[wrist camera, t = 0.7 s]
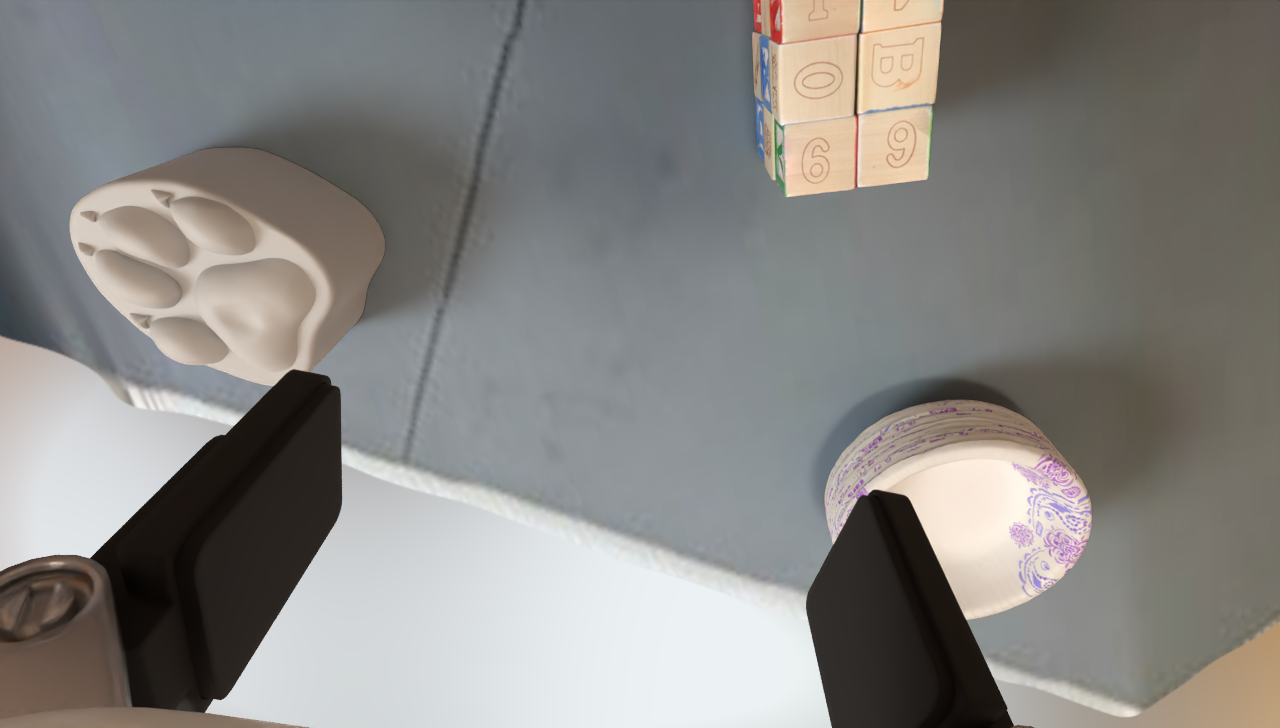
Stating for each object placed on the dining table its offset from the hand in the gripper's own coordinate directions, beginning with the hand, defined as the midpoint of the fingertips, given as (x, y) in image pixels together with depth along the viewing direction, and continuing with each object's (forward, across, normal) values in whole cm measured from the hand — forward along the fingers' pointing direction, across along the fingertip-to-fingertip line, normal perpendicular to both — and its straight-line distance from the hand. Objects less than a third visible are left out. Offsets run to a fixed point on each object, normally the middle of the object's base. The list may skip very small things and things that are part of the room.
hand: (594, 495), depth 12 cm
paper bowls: (+29, -24, +17) cm, 41 cm away
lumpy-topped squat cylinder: (+29, +21, +10) cm, 37 cm away
